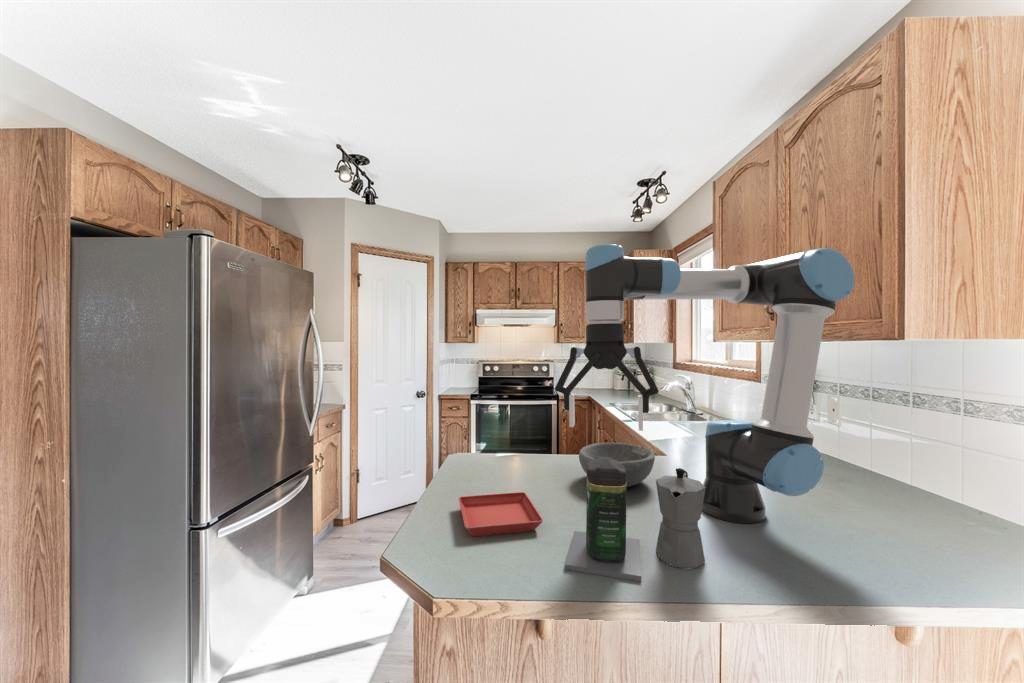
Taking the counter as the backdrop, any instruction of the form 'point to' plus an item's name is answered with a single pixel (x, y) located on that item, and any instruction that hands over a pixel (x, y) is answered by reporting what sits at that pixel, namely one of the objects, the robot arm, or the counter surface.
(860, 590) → the counter surface
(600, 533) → the coffee jar
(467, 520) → the plant saucer
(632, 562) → the plate
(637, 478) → the bowl
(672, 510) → the coffeepot
